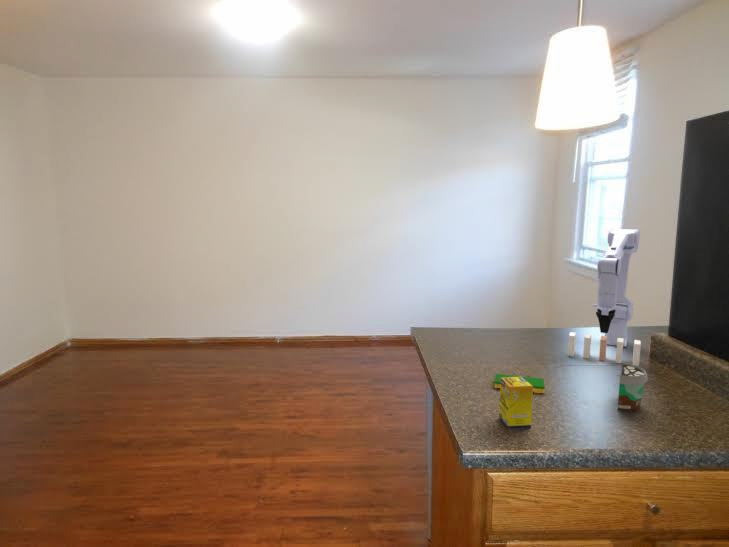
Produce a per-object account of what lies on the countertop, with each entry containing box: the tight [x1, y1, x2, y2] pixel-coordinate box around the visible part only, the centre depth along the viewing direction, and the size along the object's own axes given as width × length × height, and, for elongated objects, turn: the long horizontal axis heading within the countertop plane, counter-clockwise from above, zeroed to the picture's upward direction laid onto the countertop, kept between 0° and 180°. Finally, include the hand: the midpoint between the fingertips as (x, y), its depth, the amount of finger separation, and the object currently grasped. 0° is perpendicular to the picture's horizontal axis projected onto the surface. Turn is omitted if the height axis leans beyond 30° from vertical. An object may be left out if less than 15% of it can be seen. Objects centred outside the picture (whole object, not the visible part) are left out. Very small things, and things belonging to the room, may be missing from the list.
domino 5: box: [632, 339, 642, 367], centre depth 152 cm, size 2×5×8 cm, turn 149°
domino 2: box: [582, 333, 592, 360], centre depth 159 cm, size 2×5×8 cm, turn 149°
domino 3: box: [598, 335, 608, 362], centre depth 157 cm, size 2×5×8 cm, turn 149°
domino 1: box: [567, 331, 577, 357], centre depth 162 cm, size 2×5×8 cm, turn 149°
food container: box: [617, 361, 648, 412], centre depth 120 cm, size 12×6×10 cm, turn 148°
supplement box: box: [498, 376, 534, 430], centre depth 111 cm, size 6×6×11 cm
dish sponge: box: [494, 373, 546, 394], centre depth 134 cm, size 7×14×2 cm, turn 71°
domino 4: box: [615, 338, 624, 364], centre depth 154 cm, size 2×5×8 cm, turn 149°
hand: (604, 331), depth 156 cm, fingers open, 4 cm apart
